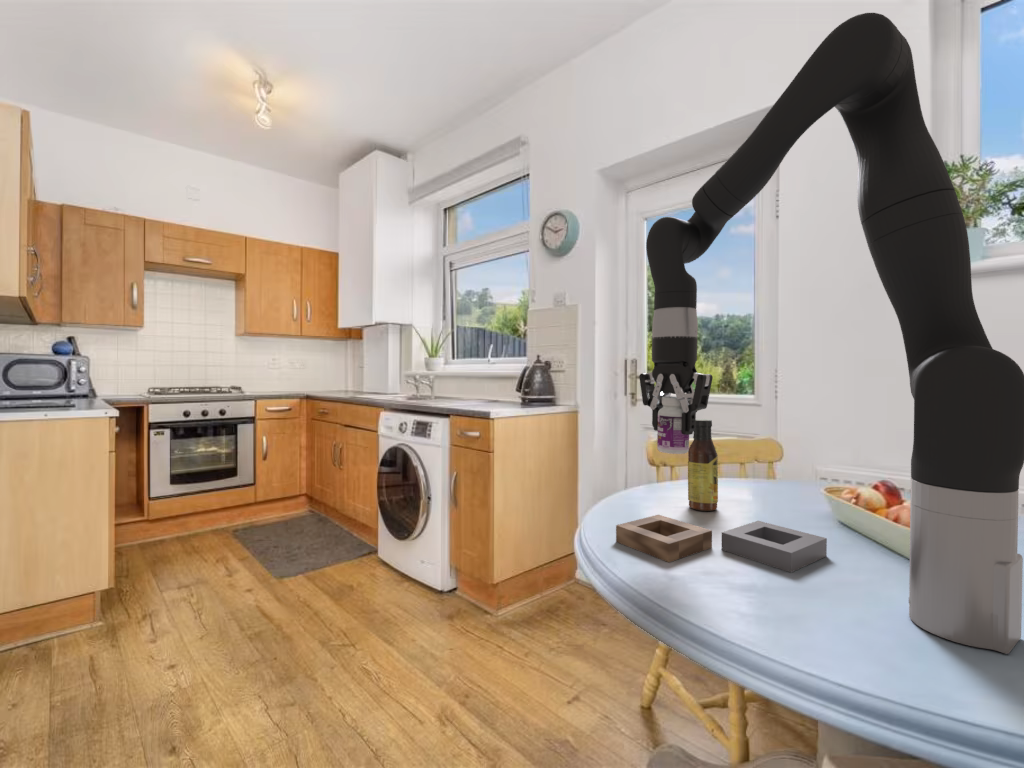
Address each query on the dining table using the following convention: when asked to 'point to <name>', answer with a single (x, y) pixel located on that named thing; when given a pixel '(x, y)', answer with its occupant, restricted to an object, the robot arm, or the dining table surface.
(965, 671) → the dining table surface
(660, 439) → the pill bottle
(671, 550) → the dock
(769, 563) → the grey square frame
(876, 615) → the dining table surface
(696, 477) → the sauce bottle
